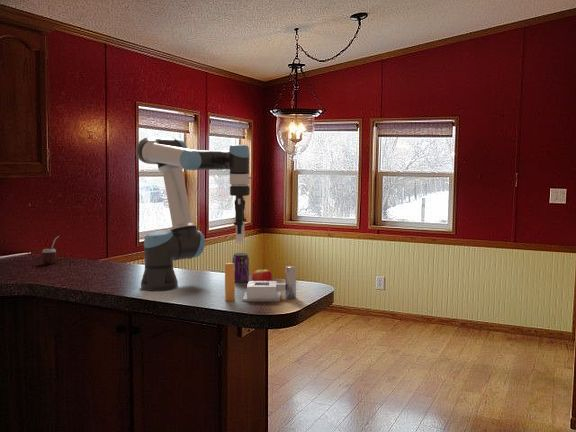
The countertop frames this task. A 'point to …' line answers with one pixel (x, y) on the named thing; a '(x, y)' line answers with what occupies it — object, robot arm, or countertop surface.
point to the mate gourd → (49, 255)
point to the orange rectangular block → (229, 282)
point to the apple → (262, 275)
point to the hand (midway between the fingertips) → (240, 240)
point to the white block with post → (272, 288)
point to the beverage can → (241, 267)
